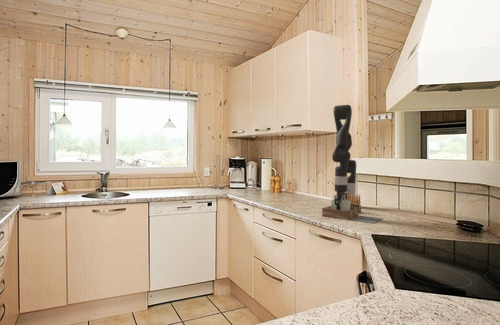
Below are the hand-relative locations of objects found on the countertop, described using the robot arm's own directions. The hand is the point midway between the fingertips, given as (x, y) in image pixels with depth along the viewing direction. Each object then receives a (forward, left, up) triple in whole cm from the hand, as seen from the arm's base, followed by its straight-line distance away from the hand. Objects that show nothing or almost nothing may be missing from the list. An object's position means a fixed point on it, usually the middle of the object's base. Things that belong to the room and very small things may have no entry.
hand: (340, 210), depth 199 cm
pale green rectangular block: (0, 0, -3) cm, 3 cm away
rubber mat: (0, +16, -3) cm, 16 cm away
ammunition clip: (-18, +1, -3) cm, 18 cm away
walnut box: (0, 0, -3) cm, 3 cm away
